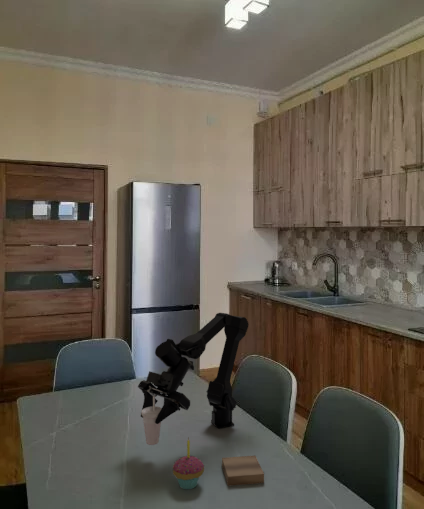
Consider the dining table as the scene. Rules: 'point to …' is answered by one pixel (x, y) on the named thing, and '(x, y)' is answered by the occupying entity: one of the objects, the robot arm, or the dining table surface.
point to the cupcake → (188, 469)
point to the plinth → (242, 470)
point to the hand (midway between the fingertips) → (148, 420)
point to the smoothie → (151, 423)
